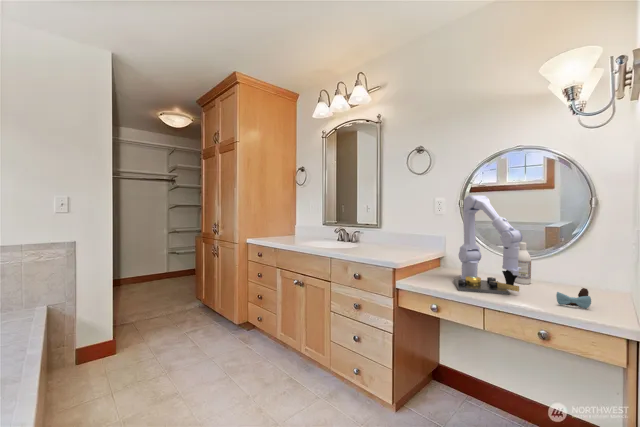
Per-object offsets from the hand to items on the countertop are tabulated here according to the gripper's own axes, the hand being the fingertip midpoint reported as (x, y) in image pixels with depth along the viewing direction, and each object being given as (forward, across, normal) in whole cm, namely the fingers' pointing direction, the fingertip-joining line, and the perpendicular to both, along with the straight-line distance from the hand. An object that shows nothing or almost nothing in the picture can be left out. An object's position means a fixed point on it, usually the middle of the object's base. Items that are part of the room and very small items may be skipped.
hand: (509, 287), depth 129 cm
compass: (+2, -10, -18) cm, 21 cm away
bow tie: (+2, -14, -17) cm, 22 cm away
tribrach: (+2, +5, +11) cm, 12 cm away
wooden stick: (+1, 0, +2) cm, 3 cm away
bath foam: (+3, +20, -11) cm, 23 cm away
